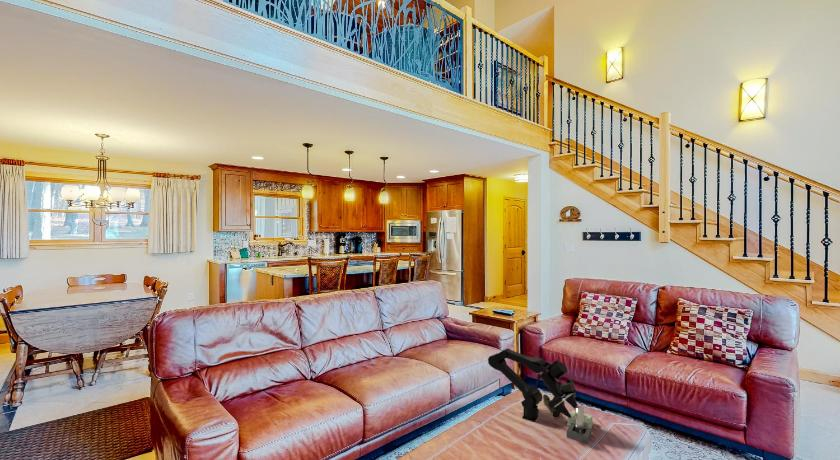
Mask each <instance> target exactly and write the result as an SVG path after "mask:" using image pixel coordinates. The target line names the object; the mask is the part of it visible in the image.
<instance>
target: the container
mask: <svg viewBox="0 0 840 460" xmlns="http://www.w3.org/2000/svg"><path fill="white" fill-rule="evenodd" d="M570 415H571V418H569V417H567V418H568V419H567V423H566V427H568V426H570V424H571V423H574V424H575V410H572V411H571V412H570ZM593 425H594V421H593V415H592V414H587V413H584V426H585V427H588V428H593Z"/></svg>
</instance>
